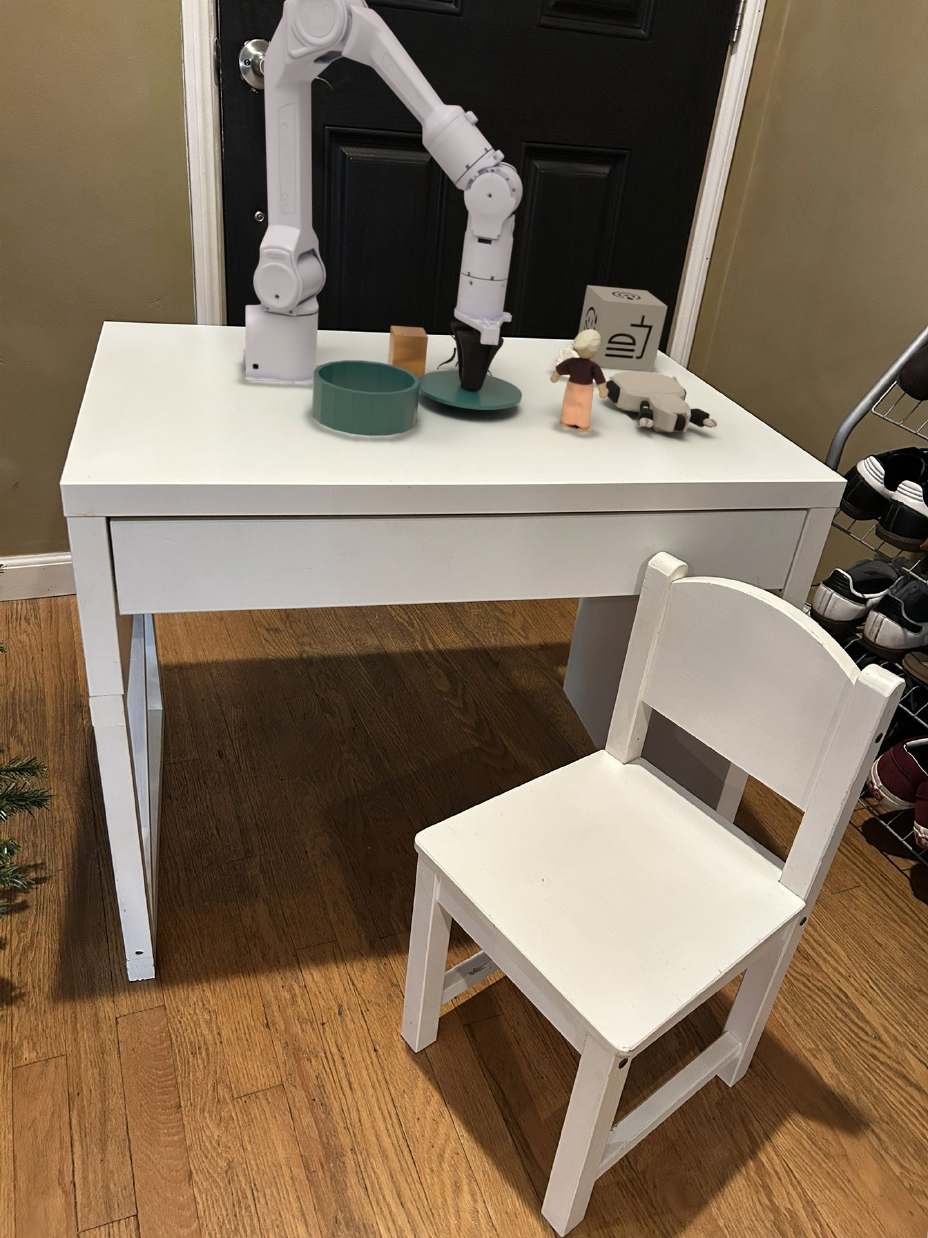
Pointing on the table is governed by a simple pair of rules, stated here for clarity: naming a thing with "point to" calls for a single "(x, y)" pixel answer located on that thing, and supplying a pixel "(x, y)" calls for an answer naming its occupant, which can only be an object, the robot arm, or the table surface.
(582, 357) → the grandmother figurine
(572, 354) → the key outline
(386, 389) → the pot
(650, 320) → the icon cube
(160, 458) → the table surface
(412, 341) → the maple block
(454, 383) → the pot lid
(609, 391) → the robot toy
